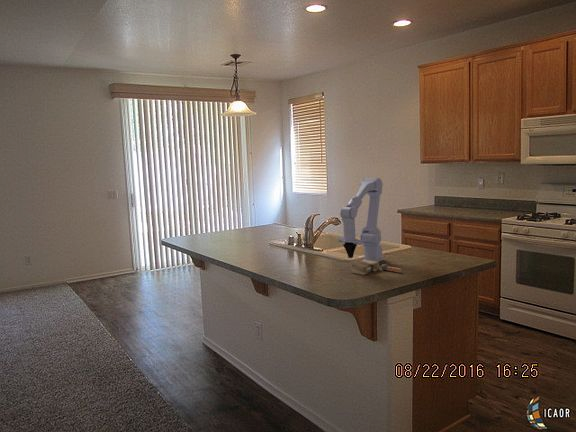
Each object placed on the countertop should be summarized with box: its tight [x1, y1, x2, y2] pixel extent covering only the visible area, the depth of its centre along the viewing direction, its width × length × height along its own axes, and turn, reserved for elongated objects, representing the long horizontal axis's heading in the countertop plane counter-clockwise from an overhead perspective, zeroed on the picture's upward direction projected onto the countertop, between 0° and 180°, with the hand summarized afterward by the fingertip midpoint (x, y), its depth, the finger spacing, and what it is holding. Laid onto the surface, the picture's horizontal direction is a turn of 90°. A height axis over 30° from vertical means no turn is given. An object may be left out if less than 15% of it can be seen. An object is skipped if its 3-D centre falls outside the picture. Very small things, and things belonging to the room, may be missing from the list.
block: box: [351, 260, 380, 276], centre depth 233 cm, size 12×7×4 cm, turn 131°
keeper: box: [381, 263, 403, 273], centre depth 230 cm, size 11×3×2 cm, turn 41°
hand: (350, 257), depth 240 cm, fingers closed
